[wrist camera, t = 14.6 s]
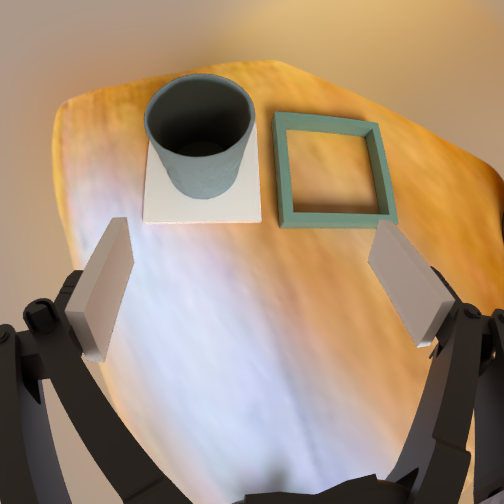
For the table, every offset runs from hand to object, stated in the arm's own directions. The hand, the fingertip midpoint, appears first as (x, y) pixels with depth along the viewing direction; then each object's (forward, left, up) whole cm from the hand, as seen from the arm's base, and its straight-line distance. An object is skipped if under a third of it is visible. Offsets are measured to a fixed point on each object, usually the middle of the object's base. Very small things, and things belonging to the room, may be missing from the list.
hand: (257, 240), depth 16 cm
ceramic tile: (+3, -14, -21) cm, 26 cm away
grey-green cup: (+3, -14, -20) cm, 25 cm away
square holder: (-14, -14, -21) cm, 29 cm away
